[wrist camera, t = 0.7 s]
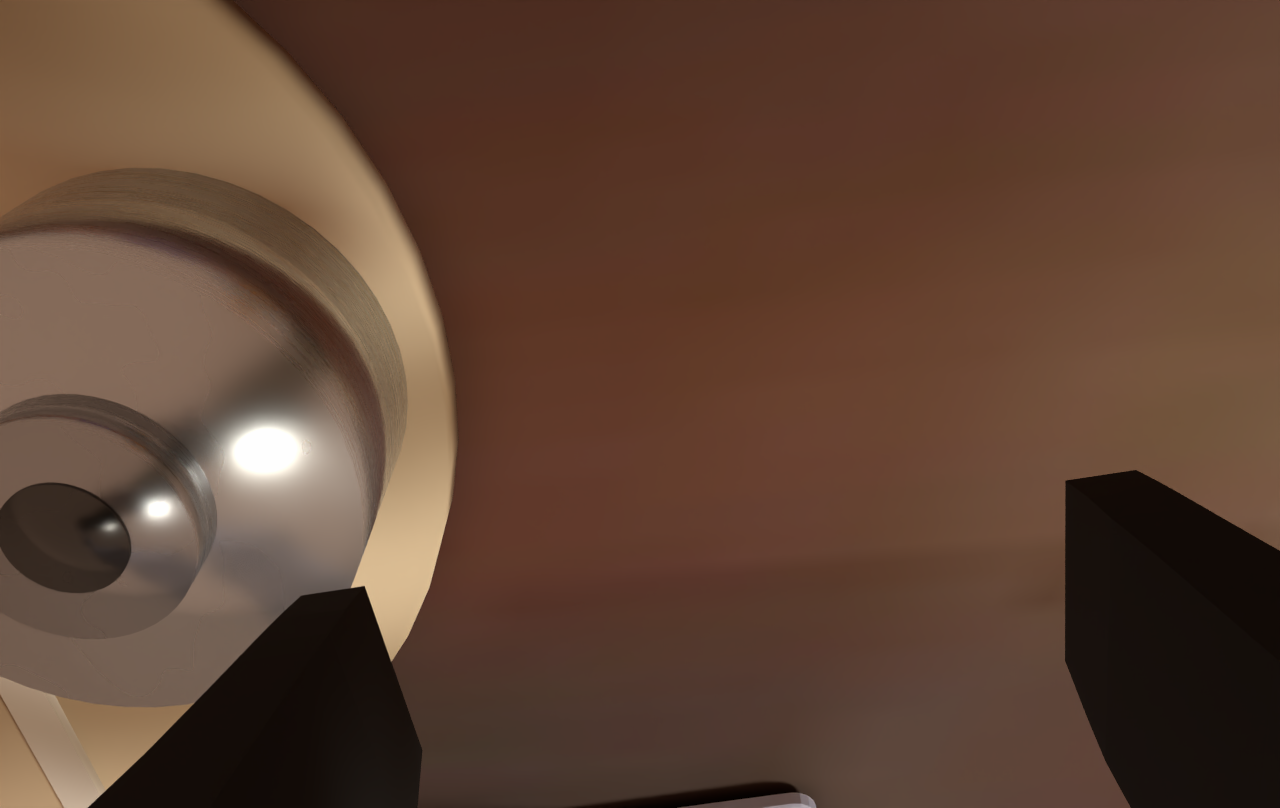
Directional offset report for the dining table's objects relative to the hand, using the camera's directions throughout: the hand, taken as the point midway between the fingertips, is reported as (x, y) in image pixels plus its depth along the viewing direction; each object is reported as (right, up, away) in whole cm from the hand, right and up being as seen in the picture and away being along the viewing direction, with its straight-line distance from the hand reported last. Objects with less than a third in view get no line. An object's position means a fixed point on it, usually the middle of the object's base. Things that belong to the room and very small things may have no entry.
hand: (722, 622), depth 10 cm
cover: (-8, +2, +7) cm, 11 cm away
